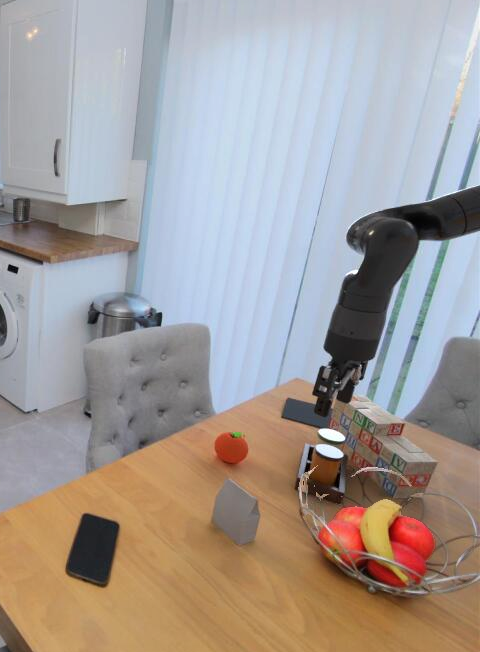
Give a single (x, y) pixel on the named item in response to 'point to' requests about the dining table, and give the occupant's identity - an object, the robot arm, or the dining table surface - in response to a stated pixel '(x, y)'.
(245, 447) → the red tomato
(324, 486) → the rack
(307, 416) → the mat
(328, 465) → the amber jar
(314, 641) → the dining table surface
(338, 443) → the beige jar
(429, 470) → the stack of blocks
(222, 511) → the grey paper bag
